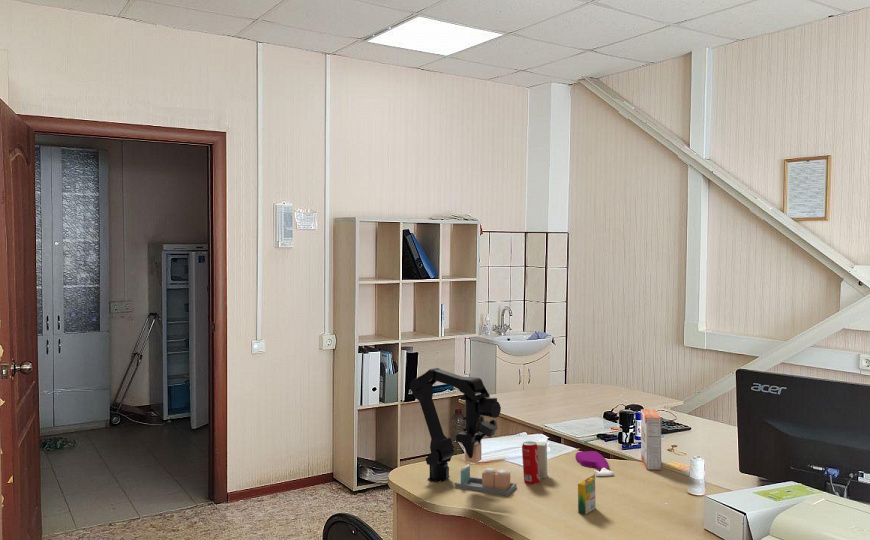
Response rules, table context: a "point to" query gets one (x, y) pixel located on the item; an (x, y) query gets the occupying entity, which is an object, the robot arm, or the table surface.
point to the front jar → (502, 480)
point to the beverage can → (530, 463)
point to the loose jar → (474, 454)
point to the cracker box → (651, 439)
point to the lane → (477, 486)
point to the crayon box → (586, 495)
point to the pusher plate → (465, 474)
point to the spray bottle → (594, 462)
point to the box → (542, 459)
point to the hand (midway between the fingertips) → (473, 456)
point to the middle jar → (488, 477)
